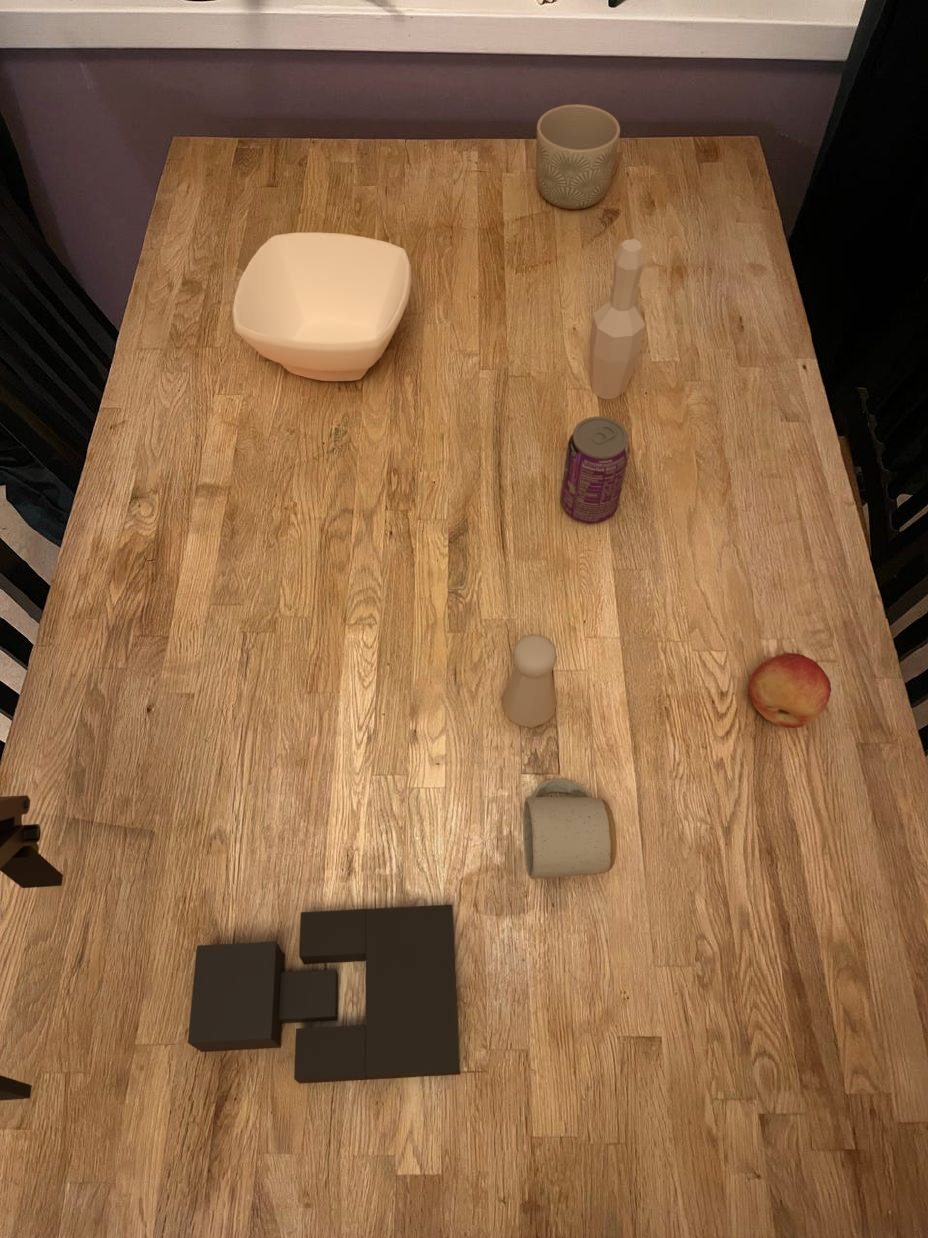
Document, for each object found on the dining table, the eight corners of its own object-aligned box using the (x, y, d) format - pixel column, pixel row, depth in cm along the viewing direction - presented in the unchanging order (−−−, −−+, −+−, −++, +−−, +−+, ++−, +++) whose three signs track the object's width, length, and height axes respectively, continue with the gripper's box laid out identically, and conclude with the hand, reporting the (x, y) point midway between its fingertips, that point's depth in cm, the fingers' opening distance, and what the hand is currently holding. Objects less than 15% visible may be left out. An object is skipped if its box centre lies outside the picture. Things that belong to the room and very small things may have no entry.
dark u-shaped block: (299, 1084, 83) (294, 1079, 81) (305, 921, 91) (300, 912, 88) (459, 1074, 83) (459, 1070, 81) (452, 913, 91) (452, 904, 88)
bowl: (396, 423, 125) (390, 354, 115) (232, 403, 127) (213, 334, 117) (426, 310, 137) (423, 240, 127) (276, 294, 139) (262, 223, 129)
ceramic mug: (612, 883, 92) (623, 856, 86) (528, 890, 92) (533, 863, 86) (595, 782, 98) (604, 749, 92) (516, 788, 98) (519, 755, 91)
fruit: (727, 703, 103) (746, 667, 96) (774, 663, 106) (795, 625, 99) (783, 754, 100) (807, 720, 93) (830, 712, 102) (856, 675, 96)
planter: (573, 161, 156) (579, 94, 147) (627, 196, 151) (637, 129, 142) (516, 190, 152) (519, 123, 143) (570, 227, 147) (577, 160, 138)
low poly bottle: (575, 379, 129) (593, 237, 111) (615, 364, 131) (640, 222, 112) (599, 409, 126) (623, 269, 108) (640, 394, 128) (670, 252, 109)
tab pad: (201, 1052, 84) (187, 1043, 80) (209, 958, 89) (196, 945, 85) (337, 1044, 85) (330, 1035, 81) (339, 952, 89) (332, 938, 85)
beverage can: (589, 473, 120) (601, 404, 110) (629, 507, 117) (645, 439, 107) (548, 501, 118) (555, 433, 108) (587, 536, 115) (599, 469, 105)
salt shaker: (545, 742, 100) (555, 683, 90) (493, 726, 101) (497, 666, 91) (560, 696, 103) (572, 633, 92) (510, 681, 104) (515, 617, 93)
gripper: (-145, 671, 53) (3, 809, 71) (-302, 1197, 40) (-72, 1202, 58) (-6, 663, 53) (106, 803, 71) (-115, 1182, 40) (56, 1192, 58)
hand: (27, 982), depth 65 cm, fingers open, 13 cm apart
